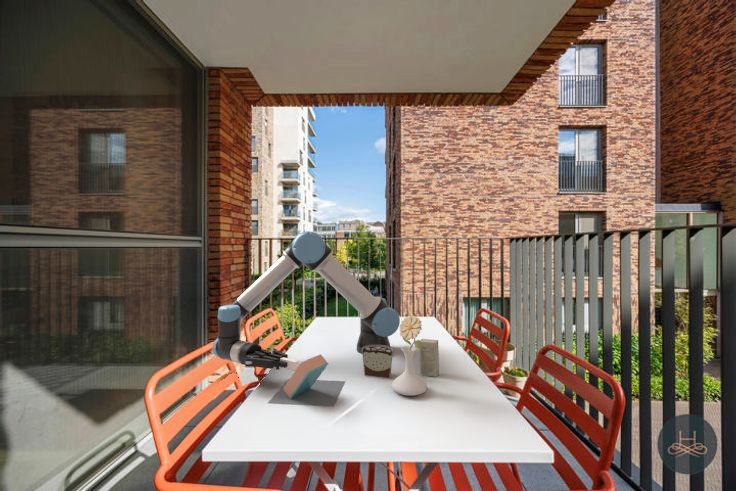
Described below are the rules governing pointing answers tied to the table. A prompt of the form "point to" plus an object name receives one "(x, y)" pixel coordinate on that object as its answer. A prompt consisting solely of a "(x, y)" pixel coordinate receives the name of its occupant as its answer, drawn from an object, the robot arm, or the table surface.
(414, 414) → the table surface
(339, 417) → the table surface
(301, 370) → the salmon orange block
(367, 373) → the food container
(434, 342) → the skincare box
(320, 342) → the table surface
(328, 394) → the mat
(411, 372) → the flower in vase
